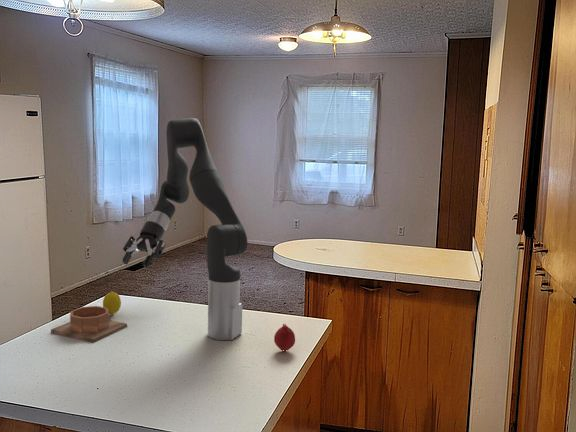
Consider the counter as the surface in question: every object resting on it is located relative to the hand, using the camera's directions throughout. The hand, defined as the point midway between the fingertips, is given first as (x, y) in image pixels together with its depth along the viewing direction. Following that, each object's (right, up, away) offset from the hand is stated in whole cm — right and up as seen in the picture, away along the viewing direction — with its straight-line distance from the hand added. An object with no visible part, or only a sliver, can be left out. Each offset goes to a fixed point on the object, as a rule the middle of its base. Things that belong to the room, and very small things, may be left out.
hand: (134, 264), depth 178 cm
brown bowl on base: (-7, -17, -21) cm, 28 cm away
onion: (+51, -21, -32) cm, 64 cm away
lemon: (-5, -16, -8) cm, 18 cm away
